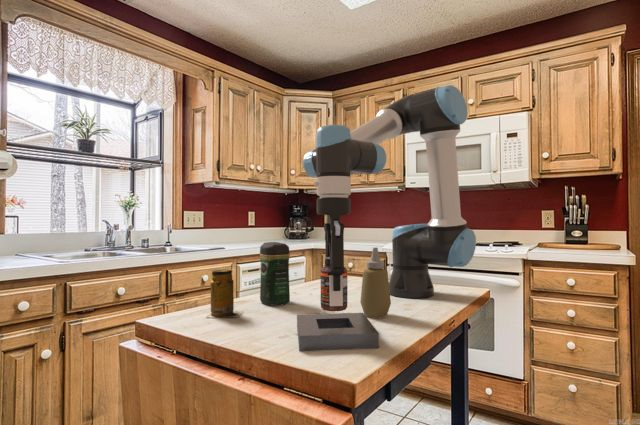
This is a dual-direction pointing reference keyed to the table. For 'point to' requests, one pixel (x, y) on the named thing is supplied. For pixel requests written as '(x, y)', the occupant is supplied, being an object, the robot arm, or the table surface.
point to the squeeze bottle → (375, 288)
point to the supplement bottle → (326, 289)
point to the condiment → (222, 295)
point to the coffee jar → (274, 273)
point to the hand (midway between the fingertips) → (334, 301)
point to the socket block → (336, 332)
